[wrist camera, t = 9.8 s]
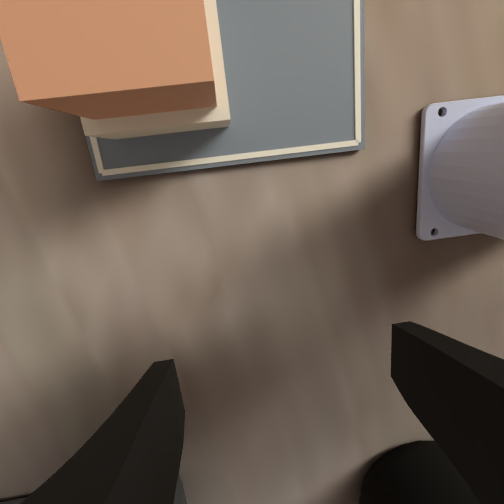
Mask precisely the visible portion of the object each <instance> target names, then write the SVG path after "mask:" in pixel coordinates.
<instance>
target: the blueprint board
mask: <svg viewBox="0 0 504 504" xmlns="http://www.w3.org/2000/svg"><path fill="white" fill-rule="evenodd" d="M204 8H205V15H206V23H207V30H208V38H209V45H210V53H211V60H212V68H213V75H214V83H215V92H216V101H217V106H215V107H206V108H197V109H188V110H179V111H170V112H161V113H152V114H143V115H134V116H125V117H116V118H107V119H98V120H92V119H88V118H84V117H80V119H81V123H82V127H83V131H84V135H85V138H86V141H87V145H88V149H89V153H90V157H91V161H92V165H93V169H94V173H95V177H96V181H104V180H112V179H120V178H129V177H137V176H145V175H154V174H162V173H170V172H179V171H187V170H195V169H204V168H212V167H220V166H229V165H237V164H245V163H254V162H262V161H270V160H279V159H287V158H295V157H303V156H312V155H320V154H328V153H337V152H345V151H353V150H362V149H365V126H364V0H204Z"/></svg>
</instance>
